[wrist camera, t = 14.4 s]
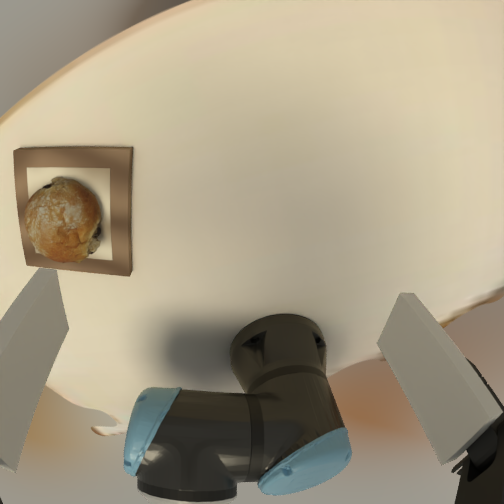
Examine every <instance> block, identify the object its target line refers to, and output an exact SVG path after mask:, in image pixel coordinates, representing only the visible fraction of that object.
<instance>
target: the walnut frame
mask: <svg viewBox="0 0 504 504" xmlns="http://www.w3.org/2000/svg"><path fill="white" fill-rule="evenodd" d="M13 155H14V176H15V189H16V200H17V209H18V217H19V225H20V231H21V238H22V244H23V249H24V255H25V260H26V265H27V266H36V267H44V268H53V269H61V270H70V271H80V272H89V273H99V274H109V275H119V276H130V275H131V272H132V253H131V180H132V156H133V147H34V148H19V149H16V150H14V151H13ZM55 177H63V178H66V179H74V180H76V181H78V182H79V183H81V184H82V185H83V186H85V187H86V188H88V189H89V190H90V191H91V192H92V193H93V194H94V195H95V196H96V199H97V201H98V204H99V207H100V209H101V210H100V212H101V218H102V219H101V222H100V228H101V234H100V235H99V236H98V237H97V239H98V240H99V241H101V242H100V246H99V247H98V248H97V251H95V252H94V253H93V254H89V257H87V258H85V259H84V260H83V261H81V263H76V262H66V263H61V262H56V261H53V260H51V259H49V258H47V257H45V256H44V255H42V254H40V253H39V252H38V251H37V250H36V248H35V247H34V246H33V244H32V242H31V241H30V239H29V236H28V233H27V231H26V228H25V220H24V214H25V208H26V205H27V202H28V200H29V199H30V197H31V196H32V195H33V194H34V193H35V192H36V191H37V190H39V189H42V188H43V186H45V185H48V184H50V183H52V181H51V180H52V179H53V178H55ZM97 239H96V240H97Z"/></svg>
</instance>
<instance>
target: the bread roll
mask: <svg viewBox="0 0 504 504" xmlns="http://www.w3.org/2000/svg"><path fill="white" fill-rule="evenodd" d="M51 181H52V183H50V184H48V185H45V186H43V188H42V189H39V190H37V191H36V192H35V193H34V194H33V195H32V196H31V197H30V199H29V200H28V202H27V205H26V208H25V214H24V220H25V228H26V231H27V233H28V236H29V239H30V241H31V242H32V244H33V246H34V247H35V248H36V250H37V251H38V252H39V253H40V254H42V255H44V256H45V257H47V258H49V259H51V260H53V261H56V262H61V263H66V262H76V263H81V261H83V260H84V259H85V258H87V257H89V254H93V253H94V252H95V251H97V248H98V247H99V246H100V242H101V241H99V240H98V239H97V237H98V236H99V235H100V234H101V228H100V222H101V219H102V218H101V212H100V210H101V209H100V207H99V204H98V201H97V199H96V196H95V195H94V194H93V193H92V192H91V191H90V190H89V189H88V188H86V187H85V186H83V185H82V184H81V183H79V182H78V181H76V180H74V179H66V178H63V177H55V178H53V179H52V180H51ZM96 239H97V240H96Z"/></svg>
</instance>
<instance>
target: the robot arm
mask: <svg viewBox="0 0 504 504" xmlns="http://www.w3.org/2000/svg"><path fill="white" fill-rule="evenodd" d="M68 330H69V326H68V322H67V318H66V314H65V309H64V305H63V300H62V296H61V291H60V286H59V281H58V275H57V270H54V269H45V268H39V269H38V270H37V272H36V273H35V274H34V275H33V277H32V278H31V279H30V280H29V282H28V283H27V284H26V286H25V287H24V288H23V290H22V291H21V292H20V294H19V295H18V296H17V298H16V299H15V301H14V302H13V303H12V305H11V306H10V308H9V309H8V310H7V312H6V313H5V315H4V316H3V318H2V319H1V321H0V467H2V468H4V469H7V470H9V471H12V472H14V473H16V470H17V466H18V463H19V459H20V455H21V452H22V449H23V446H24V442H25V439H26V436H27V433H28V430H29V427H30V424H31V421H32V418H33V415H34V412H35V410H36V407H37V404H38V401H39V399H40V396H41V393H42V391H43V388H44V386H45V383H46V381H47V378H48V376H49V373H50V371H51V368H52V366H53V364H54V361H55V359H56V357H57V354H58V352H59V350H60V348H61V345H62V343H63V341H64V339H65V337H66V334H67V332H68ZM377 344H378V346H379V348H380V350H381V351H382V353H383V355H384V357H385V358H386V360H387V362H388V364H389V366H390V367H391V369H392V371H393V373H394V374H395V376H396V378H397V380H398V382H399V384H400V385H401V387H402V389H403V391H404V393H405V395H406V397H407V399H408V400H409V402H410V404H411V406H412V408H413V410H414V412H415V414H416V416H417V418H418V419H419V421H420V423H421V425H422V427H423V429H424V431H425V433H426V435H427V437H428V439H429V441H430V443H431V445H432V447H433V449H434V451H435V453H436V455H437V457H438V460H439V461H440V463H441V465H444V464H446V463H448V462H451V461H453V460H455V459H457V458H458V457H459V456H460V455H461V454H462V453H463V452H464V451H465V450H467V452H468V455H467V456H466V457H465V458H463V459H462V460H461V461H460V462H459V463H458V464H457V465H455V467H453V469H452V473H454V472H455V471H456V470H458V469H459V468H460V467H461V466H463V467H462V469H460V470H459V471H458V472H457V474H458V475H461V477H460V482H459V486H458V491H457V496H456V500H455V504H504V406H503V405H502V403H501V402H500V401H499V399H498V397H497V396H496V394H495V393H494V392H493V390H492V389H491V387H490V386H489V385H487V382H486V380H485V379H484V377H482V375H481V373H480V372H479V370H478V369H477V368H476V366H475V365H474V364H473V363H471V362H470V361H469V360H468V359H467V358H466V357H464V355H463V354H462V353H461V352H460V350H459V349H458V347H457V346H456V345H455V344H454V342H453V341H452V340H451V339H450V337H449V336H448V335H447V333H446V332H445V331H444V329H443V328H442V327H441V326H440V324H439V323H438V322H437V321H436V319H435V318H434V317H433V316H432V314H431V313H430V312H429V311H428V310H427V308H426V307H425V306H424V305H423V304H422V302H421V301H420V300H419V299H418V298H417V296H416V295H415V294H414V293H400V294H399V296H398V298H397V301H396V303H395V305H394V308H393V310H392V312H391V314H390V316H389V319H388V321H387V323H386V325H385V327H384V329H383V331H382V334H381V336H380V338H379V340H378V342H377ZM326 352H327V349H326V343H325V340H324V337H323V335H322V333H321V331H320V329H319V327H318V326H317V325H316V324H315V323H313V322H312V321H311V320H309V319H307V318H304V317H301V316H297V315H290V314H282V315H273V316H269V317H265V318H262V319H260V320H257V321H255V322H253V323H251V324H250V325H248V326H247V327H245V328H244V329H243V330H242V331H241V332H240V333H239V334H238V335H237V336H236V337H235V339H234V341H233V342H232V345H231V349H230V360H231V367H232V370H233V373H234V374H235V376H236V378H237V380H238V381H239V383H240V385H241V387H242V388H243V390H244V392H245V393H246V394H243V393H224V392H207V391H194V390H183V389H182V388H181V387H178V388H176V389H173V388H158V387H151V388H147V389H145V390H144V391H143V392H141V394H140V395H139V396H138V398H137V400H136V402H135V405H134V408H133V411H132V414H131V417H130V421H129V425H128V430H127V435H126V440H125V447H124V470H125V472H126V473H128V474H130V475H131V476H137V478H138V492H139V493H140V494H141V495H142V496H144V497H145V498H146V499H147V500H148V501H149V503H150V504H229V503H231V502H232V501H233V500H234V499H235V498H236V497H237V483H239V482H258V488H260V490H261V492H262V493H264V494H266V495H271V494H272V495H286V494H291V493H295V492H299V491H303V490H306V489H309V488H311V487H314V486H316V485H319V484H321V483H323V482H325V481H327V480H329V479H331V478H332V477H334V476H335V475H337V474H338V473H339V472H341V471H342V470H343V469H344V468H345V467H346V466H347V465H348V463H349V461H350V459H351V456H352V450H351V446H350V442H349V437H348V430H347V429H346V428H345V426H344V423H343V420H342V418H341V415H340V412H339V410H338V407H337V404H336V401H335V399H334V396H333V394H332V391H331V388H330V386H329V383H328V381H327V378H326ZM0 504H3V503H2V500H1V498H0Z"/></svg>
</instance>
